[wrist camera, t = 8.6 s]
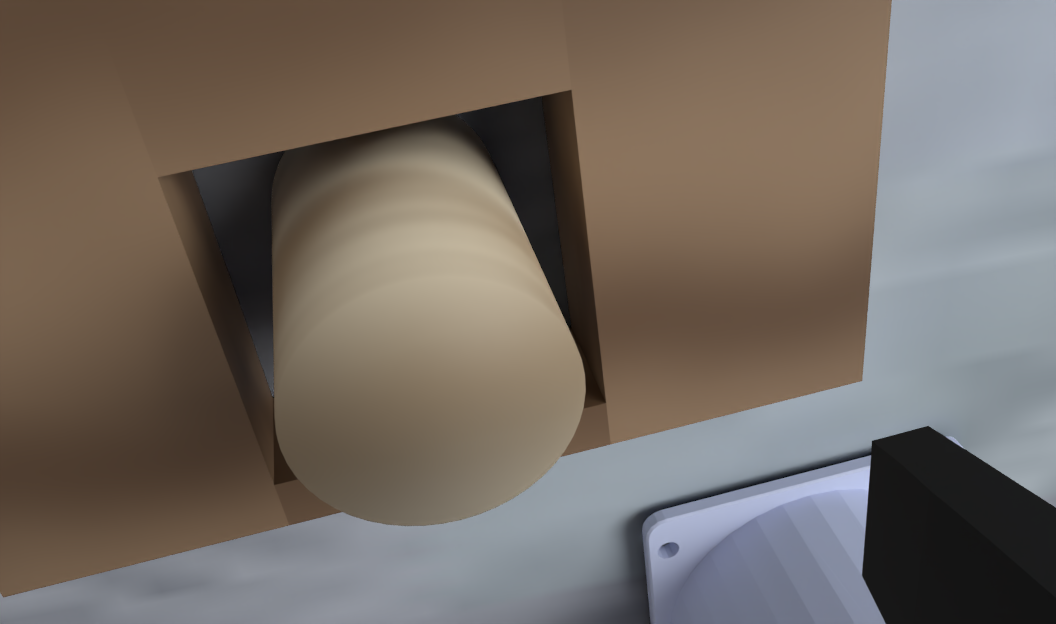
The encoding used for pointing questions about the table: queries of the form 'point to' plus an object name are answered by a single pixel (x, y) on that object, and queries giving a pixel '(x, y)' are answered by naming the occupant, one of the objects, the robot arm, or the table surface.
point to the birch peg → (413, 329)
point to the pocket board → (380, 103)
